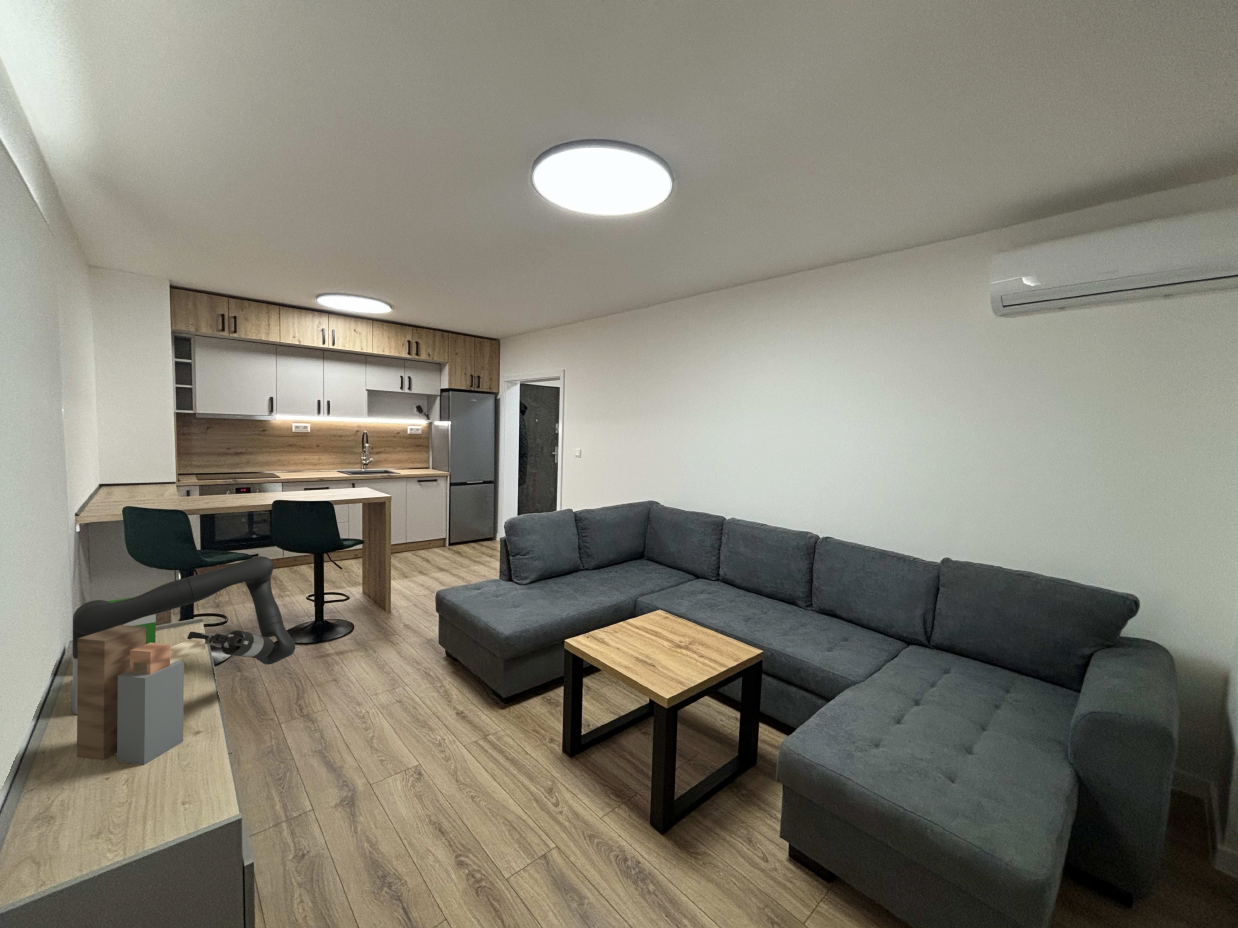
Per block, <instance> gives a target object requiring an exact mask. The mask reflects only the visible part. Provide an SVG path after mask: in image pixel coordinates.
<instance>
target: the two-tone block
mask: <svg viewBox="0 0 1238 928" xmlns="http://www.w3.org/2000/svg"><path fill="white" fill-rule="evenodd" d="M205 649H206V644H205V639H196V638H192V639H187V640H186V641H182V642H181V643H178V644H175V645H173V646H171V643H159V642H156V643H148V644H146V645H143V646H140V647H137V648H135V649H132V650H130V672H132V673H143V674H152V673H154V672H156V671H159V670H161V669H163V668H166V667H168V666H170V664H171V663H174V662H176V661H182V660H183V659H186V658H187V657H190V656H191V655H194V654H197V653H199V652H202V651H204V650H205Z"/></svg>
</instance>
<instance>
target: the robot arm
mask: <svg viewBox="0 0 1238 928" xmlns="http://www.w3.org/2000/svg"><path fill="white" fill-rule="evenodd" d="M273 571H274V561H272V559H271V558H270V557H266V556H263V555H262V556H253V557H250V558H248V559H247V558H246V559H245V560H242V561H240V562H237V563H234V564H231V565H229V566H225V567H222V568H219V569H214V570H210V571H207V572H203V573H199V574H195V575H191V576H188V577H184V578H180V579H177V580H173V581H170V582H166V583H164V584H162V585H160V586H156V587H155V588H153V589H150V590H148V591H146V592H144V593H142V594H140V595H137V596H134V598H132V597H129V598H130V599H127V600H122V601H118V602H114V603H110V602H108V601H109V600H105V599H104V600H103V599H94V600H90V601H87V602H85V603H83V604H81V605H80V606H79V607H78V608H76V610H75V611H74V612H73V615H72V679H71V680H70V710H72V712H71V713H72V714H74V715H77V666H78V638H81V637H84V636H87V635H91V634H94V633H97V632H100V631H103V630H106V629H110V628H113V627H116V626H119V625H124V624H126V623H129V622H131V621H134V620H137V619H140V618H143V617H146V616H150V615H154V614H156V615H157V614H161V613H164V612H167V611H171V610H174V609H178V608H182V607H184V606H188V605H191V604H195V603H197V602H200V601H203V600H205V599H207V598H210V597H211V596H214V595H215V594H217V593H219V592H220V591H222V590H224V589H227V588H229V587H232V586H234V585H237V584H242V583H245V585H246V587H247V590H248V592H249V593H250V594H249V595H250V596H251V598H252V601H253V605H254V609H255V615H256V620H257V624H258V628H259V631H260V634H256V633H254V632H248V631H243V630H239V629H236V630H232V631H230V632H229V633H215V632H209V633H205V632H196V631H190V632H188V635H187V637H186V639H187V640H190V639H192V638H196V639H205V645H207V646H214V647H216V648H221V652H222V653H223V654H224V655H228V656H234V657H239V658H240V657H241V658H251V659H252V658H253V659H256V660H257V661H258V662H261V663H262V664H264V665H273V664H276V663H278V662H280V661H282V660H284V659H287V658H289V657H290V656H292V655H293V654H294V653H295V651H296V643H295V641H294V639H293V637H292V636H291V634H290V633H289V632H288V630H287V629H286V627H285V623H284V620H283V616H282V614H281V610H280V607H279V605H278V604H277V601H276V599H275V597H274V594H273V591H272V590H273V589H272V580H271V579H272V578H271V577H272V574H273ZM273 637H275V638H276V641H273V639H271V638H273Z"/></svg>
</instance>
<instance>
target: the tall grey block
mask: <svg viewBox="0 0 1238 928" xmlns="http://www.w3.org/2000/svg"><path fill="white" fill-rule="evenodd" d="M184 671H185V661H184V660H178V661H176V662H174V663H171V664H170V666H168V667H166V668H163V669H161V670H159V671H156V672H154V673H152V674H143V673H132V672H130V671H128V672H126V673H123V674H121V675H118V717H117V753H116V762H117V763H125V764H136V765H146V764H148V763H150V762H151V761H154V760H155V759H156V758H159V756H162V755H163V754H165V753H167V752H168V751H170V750H171V749H173V748H175V747H176V746H178V745H180V744H182V743H183V742H184V685H185V683H184V678H185V676H184V675H185V672H184Z"/></svg>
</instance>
